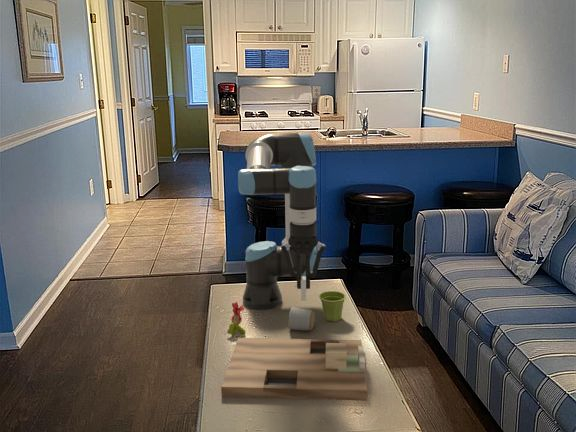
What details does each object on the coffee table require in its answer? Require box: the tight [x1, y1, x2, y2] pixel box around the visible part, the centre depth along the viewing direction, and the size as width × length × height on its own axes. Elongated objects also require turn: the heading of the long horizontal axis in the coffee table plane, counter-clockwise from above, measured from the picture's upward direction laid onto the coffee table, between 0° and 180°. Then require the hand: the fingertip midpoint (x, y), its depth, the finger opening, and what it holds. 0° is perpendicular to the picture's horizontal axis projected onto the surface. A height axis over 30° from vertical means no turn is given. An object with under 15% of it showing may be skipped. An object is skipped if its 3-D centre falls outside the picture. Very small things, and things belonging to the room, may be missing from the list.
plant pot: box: [318, 290, 347, 322], centre depth 199 cm, size 9×9×9 cm
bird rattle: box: [226, 301, 246, 336], centre depth 190 cm, size 6×11×9 cm
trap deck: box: [220, 337, 368, 401], centre depth 164 cm, size 29×40×6 cm
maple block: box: [326, 343, 347, 369], centre depth 162 cm, size 6×6×5 cm
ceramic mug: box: [288, 306, 316, 332], centre depth 192 cm, size 11×8×8 cm
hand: (303, 298), depth 163 cm, fingers closed
